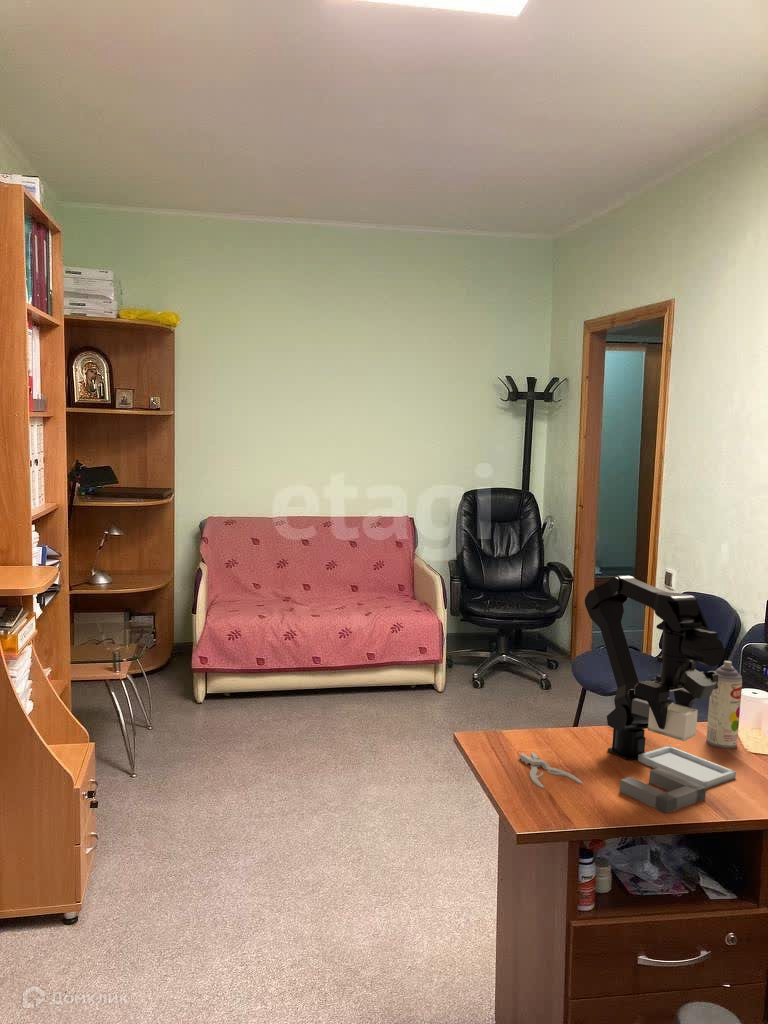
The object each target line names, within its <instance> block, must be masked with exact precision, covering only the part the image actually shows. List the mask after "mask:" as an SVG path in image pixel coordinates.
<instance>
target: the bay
mask: <svg viewBox="0 0 768 1024" xmlns="http://www.w3.org/2000/svg"><path fill="white" fill-rule="evenodd" d="M648 779H649V781H648V782H649V783H650V784H653V785H655V786H657V787H659V788H662V789H664V790H667V792H665V791H664V790H661V789H659V788H657V787H654V786H652V785H650V784H647V783H645V782H644V781H641V780H639V779H637V778H635V777H632V776H629V777H625V778H621V779H620V783H619V785H620V786H619V793H622V794H624V795H626V796H628V797H631V798H632V799H634V800H636V801H638V802H641V803H643V804H646V805H647V806H649V807H652V808H654V809H656V810H658V811H660V812H662V813H664V812H665V813H664V814H666V813H667V814H669V812H670V813H672V812H674V810H675V811H678V810H680V809H683V808H686V807H688V805H689V806H691V805H693V804H696V803H697V804H698V802H702V801H705V800H706V794H707V793H706V791H707V789H706V787H704V786H701V785H699V784H697V783H694V782H692V781H690V780H687V779H685V778H682V777H680V776H678V775H675V774H673V773H671V772H668V771H666V770H663V769H661V768H656V769H655V768H653V769H651V770H649V778H648ZM685 806H686V807H685ZM682 807H683V808H682ZM677 809H678V810H677ZM671 811H672V812H671Z"/></svg>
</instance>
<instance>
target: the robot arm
mask: <svg viewBox="0 0 768 1024" xmlns="http://www.w3.org/2000/svg"><path fill="white" fill-rule="evenodd" d="M630 599H631V600H633V601H635V602H637V603H639V604H641V605H643V606H646V607H648V608H650V609H652V610H653V611H654V614H655V615H656V617H658V618H659V619H660V620H662V621H661V622H660V623H658V624H657V625H656V629H657V630H661V631H663V635H662V636H663V637H662V646H661V647H662V649H661V650H662V651H661V656H657V657H656V658H657V659H656V662H657V663H660V674H659V675H655V676H656V677H655V681H656V682H655V681H653V680H643V681H640V680H639V677H638V674H637V671H636V668H635V664H634V661H633V657H632V654H631V651H630V648H629V644H628V641H627V638H626V634H625V631H624V629H623V625H622V620H623V616H624V613H625V607H624V604H626V603H627V602H628V601H629V600H630ZM584 606H585V610H587V613H588V616H589V618H590V619H591V620H592V622H593V623H595V624H596V626H597V627H598V628H599V630H600V633H601V635H602V640H603V643H604V646H605V649H606V654H607V656H608V659H609V664H610V666H611V671H612V673H613V676H614V679H615V680H614V681H615V684H616V687H617V688H616V692H615V695H614V700H613V701H614V706H615V708H614V709H613V710H612V711H611V712H609V713H608V714H607V715H606V722H607V723H606V724H607V726H608V727H609V728H612V744H611V746H612V747H608V748H607V752H608V753H611V754H613V755H616V756H619V757H621V758H623V759H625V760H628V761H632V760H635V759H638V755H639V754H643V753H646V752H647V751H646V750H645V749H646V737H645V732H646V731H645V729H647V730H648V721H649V718H647V717H644V716H640V715H637V714H633V713H632V700H633V699H635V698H637V699H641V700H644V701H647V702H648V704H649V706H650V708H651V710H652V712H653V715H654V717H655V719H656V722H657V724H658V727H659V728H660V729H664V728H665V723H666V717H667V710H668V706H669V705H670V704H671V703H675V704H678V705H682V706H686V707H689V708H693V705H694V703H695V701H697V700H701V699H704V698H710V696H711V694H712V691H713V690H714V689H718V685H717V684H718V674H717V673H716V672H714V671H715V670H709V671H706V672H704V671H699V670H697V669H696V667H697V663H699V664H702V665H705V666H708V667H713V668H714V667H717V666H718V665H719V664H720V663H721V662H722V660H723V659H724V657H725V653H726V651H725V647H724V644H723V642H722V641H721V640H720V639H719V638H718V637H719V634H718V632H717V631H709V630H710V629H709V625H708V622H707V620H706V619H705V617H704V614H703V611H702V609H701V607H700V604H699V603H698V599H697V598H696V597H695V596H694V595H691V594H688V593H687V594H686V593H680V592H671V591H670V592H669V591H665V590H663V589H660V588H658V587H655V586H654V585H653V586H652V585H651V584H648V583H646V582H643V581H642V580H640V579H639V580H638V579H637V578H635V577H634V576H632V575H615V576H613V577H611V578H610V579H609V580H607V581H606V582H603V583H602V584H599V585H598V586H595V587H594V588H593V589H591V590H589V591H588V592H587V594H586V596H585V598H584ZM659 682H660V683H659ZM670 693H673V695H674V700H672V699H670Z"/></svg>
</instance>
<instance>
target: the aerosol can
mask: <svg viewBox="0 0 768 1024" xmlns="http://www.w3.org/2000/svg"><path fill="white" fill-rule="evenodd" d="M713 671H714V672H716V673H717V674H718V684H717V685H718V689H714V690H713V691H712V694H711V696H710V697H709V701H708V713H707V726H706V739H705V741H706V743H707V744H709V745H711V746H713V747H715V748H719V749H726V750H732V749H736V748H738V747H737V746H738V737H739V725H740V716H741V715H740V712H741V701H742V700H741V699H742V688H743V679H742V678H743V676H742V675H741V674H740V673H739V672H738V670H736V668H735V667H734V666H733V662H732V661H731V660H724V661H723V665H721V666H720V667H717V669H716V670H713Z"/></svg>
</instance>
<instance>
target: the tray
mask: <svg viewBox="0 0 768 1024" xmlns="http://www.w3.org/2000/svg"><path fill="white" fill-rule="evenodd" d="M645 752H646V753H643V754H639V755H638V758H637V762H639V763H642V764H644V765H645V766H648V767H650V768H653V769H656V768H661V769H663V770H666V771H668V772H671V773H673V774H675V775H678V776H680V777H682V778H685V779H687V780H690V781H692V782H694V783H697V784H699V785H701V786H704V787H706V790H707V789H708V788H709V789H710V788H712V787H714V786H718V785H721V784H723V783H726V782H729V781H731V780H735V779H736V775H737V773H736V772H737V771H736V770H734V769H731V768H727V767H725V766H723V765H720V764H717V763H715V762H713V761H709V760H708V759H705V758H703V757H700V756H697V755H695V754H692V753H689V752H687V751H684V750H681V749H679V748H677V747H674V746H672V745H668V746H667V745H666V746H663V747H660V748H656V749H653V750H650V751H645Z"/></svg>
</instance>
